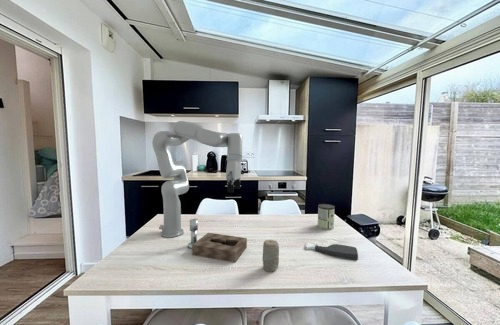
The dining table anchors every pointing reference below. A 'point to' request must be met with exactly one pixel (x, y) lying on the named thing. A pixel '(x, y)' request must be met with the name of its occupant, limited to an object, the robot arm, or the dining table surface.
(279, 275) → the dining table surface
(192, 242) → the keyhole peg
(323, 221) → the coffee can
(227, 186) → the robot arm
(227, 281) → the dining table surface
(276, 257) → the carving
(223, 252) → the keyhole board
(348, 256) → the spray bottle
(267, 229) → the dining table surface
